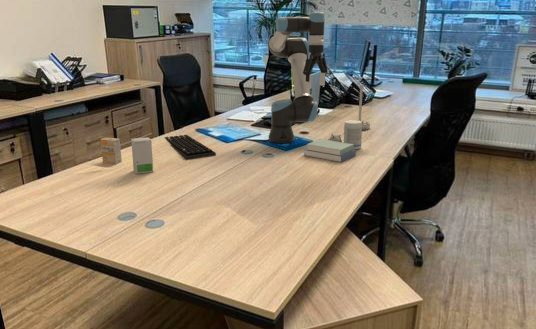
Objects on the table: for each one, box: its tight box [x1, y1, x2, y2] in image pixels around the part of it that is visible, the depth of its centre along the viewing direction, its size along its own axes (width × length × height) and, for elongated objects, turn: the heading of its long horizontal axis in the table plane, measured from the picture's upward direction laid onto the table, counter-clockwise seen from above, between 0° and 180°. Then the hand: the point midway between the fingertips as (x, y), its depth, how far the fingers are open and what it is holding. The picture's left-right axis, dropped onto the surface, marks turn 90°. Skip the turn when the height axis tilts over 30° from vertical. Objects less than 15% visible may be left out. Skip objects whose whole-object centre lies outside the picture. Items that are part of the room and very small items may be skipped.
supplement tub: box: [343, 119, 363, 150], centre depth 246 cm, size 10×10×15 cm
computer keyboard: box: [164, 134, 217, 161], centre depth 248 cm, size 45×16×4 cm, turn 28°
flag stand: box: [358, 83, 371, 131], centre depth 285 cm, size 13×13×30 cm
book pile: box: [303, 138, 357, 163], centre depth 232 cm, size 22×15×6 cm
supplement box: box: [99, 137, 123, 166], centre depth 219 cm, size 8×5×13 cm, turn 70°
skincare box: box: [130, 137, 154, 175], centre depth 208 cm, size 8×7×16 cm
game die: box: [327, 133, 343, 142], centre depth 245 cm, size 9×8×10 cm
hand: (315, 86), depth 231 cm, fingers open, 13 cm apart
